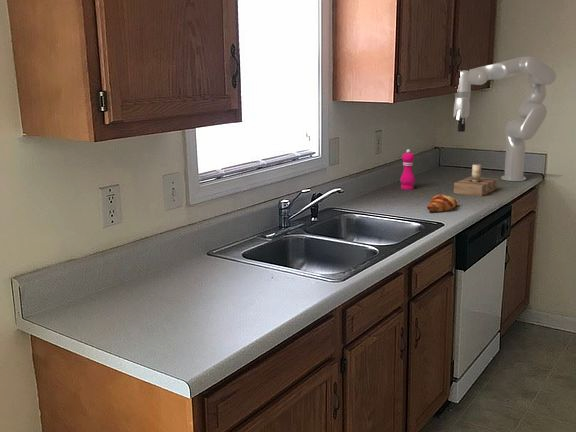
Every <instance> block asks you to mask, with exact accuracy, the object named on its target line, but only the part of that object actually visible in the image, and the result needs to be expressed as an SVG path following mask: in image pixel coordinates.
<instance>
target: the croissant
mask: <svg viewBox="0 0 576 432" xmlns="http://www.w3.org/2000/svg"><path fill="white" fill-rule="evenodd" d="M458 204H459V201H458V199H456V198H454V197H451V196H449V195H444V194H438V195H435V196H434V197H432V198H431V199H430V201H429V203H428V204H427V207H426V208H427V210H428V211H429V212H434V213H435V212H437V213H441V212H448V211H451V210H453V209H454V208H455V207H456V206H457V205H458Z"/></svg>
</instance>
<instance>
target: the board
mask: <svg viewBox="0 0 576 432" xmlns="http://www.w3.org/2000/svg"><path fill="white" fill-rule="evenodd" d="M497 189H498V179H497V178H490V177H489V178H487V177H481V179H480V183H478V182H472V176H469V177H465V178H463V179H461V180H458V181H456V182H454V183H453V194H459V195H469V196H475V197H483V196H485V195H488V194H489V193H491V192H494V191H495V190H496V191H497Z"/></svg>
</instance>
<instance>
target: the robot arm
mask: <svg viewBox="0 0 576 432" xmlns="http://www.w3.org/2000/svg"><path fill="white" fill-rule="evenodd" d="M468 70H469V71H468ZM468 70H466V69H465V70H462V71H461V70H459V71H460V78H459V85H458V89H457V93H455V92H454V99H455V100H454V105H453V115H452V116H453V118H454V119H455V118H456V122H457V132H458V133H459V132H463V133H464V132H465V131H466V123H467V118H468V117H470V108H471V106H470V105H471V103H470V99H471V95H472V94H471V91H472V89H471V87H472V85H476V86H482V85H484V84H485V83H487V82H488V81H490V80H491V81H492V80H503V79H507V78H512V77H515V76H519V75H522V74H523V75H524V74H527V80H528V83H529V91H528V93H527V95H526V97H525V98H524V101H523V102H522V104H521V105H520V107H519V108H518V110H517V111H518V118H520V119H521V120H520V119H513V120H510V121H508V123H507V124H506V126H505V141H506V143H505V146H506V147H505V158H504V159H505V161H504V175H501V177H500V179H501V180H502V181H507V182H523V181H526V180H527V177H526V176H524V171H525V156H526V155H525V154H526V153H525V152H526V141H529V140H531V139H532V138H533V137H534V136H536V134H537V132H538V131H539V129H540V127H541V125H543V122H544V121H545V119H546V118H547V117H546V116H547V111H548V110H547V108H546V106H545V105H544V104H543V102H544V100H545V99H546V95H547V87H546V86H548V85H552V84H553V83H554V82H555V80H556V78H557V74H556V71H555V70H554V68H552V67H550V66H549V65H548V64H546V63H545V62H543V61H542V60H540V59H539V58H537V57H535V56H519V57H515V58H512V59H508V60H504V61H500V62H499V61H498V62H496V63H492V64H486V65H482V66H479V67H475V68H470V69H468Z"/></svg>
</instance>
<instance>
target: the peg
mask: <svg viewBox="0 0 576 432" xmlns="http://www.w3.org/2000/svg"><path fill="white" fill-rule="evenodd" d="M481 176H482V164H480V163H479V164H477V163H476V164H475V163H474V164H472V167H471V177H472V182H478V183H480V179H481V178H482V177H481Z"/></svg>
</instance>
